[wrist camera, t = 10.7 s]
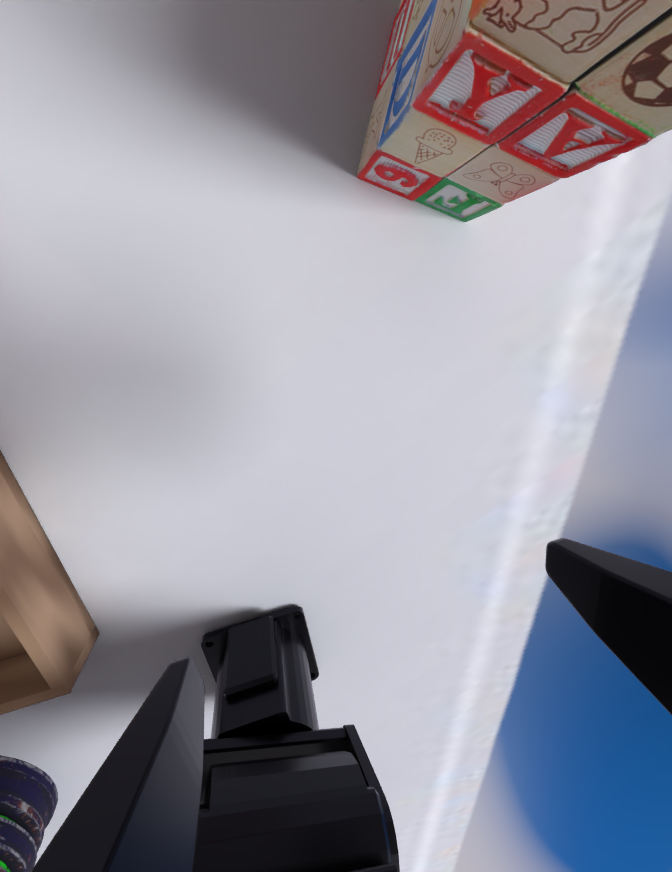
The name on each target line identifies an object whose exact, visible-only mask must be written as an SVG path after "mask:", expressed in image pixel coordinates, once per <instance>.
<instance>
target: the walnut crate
mask: <svg viewBox="0 0 672 872" xmlns="http://www.w3.org/2000/svg"><path fill="white" fill-rule="evenodd" d="M98 635H99V631H98V630H97V628H96V626H95V624H94V622H93V620H92V619H91V617H90V615H89V613H88V611H87V609H86V607H85V606H84V604H83V602H82V600H81V598H80V596H79V595H78V593H77V591H76V589H75V587H74V585H73V584H72V582H71V580H70V578H69V576H68V574H67V572H66V571H65V569H64V567H63V565H62V563H61V561H60V560H59V558H58V556H57V554H56V552H55V550H54V549H53V547H52V545H51V543H50V541H49V539H48V537H47V536H46V534H45V532H44V530H43V528H42V526H41V525H40V523H39V521H38V519H37V517H36V515H35V514H34V512H33V510H32V508H31V506H30V504H29V502H28V501H27V499H26V497H25V495H24V493H23V491H22V490H21V488H20V486H19V484H18V482H17V480H16V479H15V477H14V475H13V473H12V471H11V469H10V468H9V466H8V464H7V462H6V460H5V458H4V456H3V455H2V453H1V451H0V715H1V714H4V713H8V712H11V711H14V710H17V709H20V708H24V707H27V706H30V705H33V704H36V703H40V702H43V701H46V700H49V699H52V698H56V697H59V696H62V695H65V694H68V693H70V692H71V690H72V688H73V686H74V684H75V682H76V680H77V678H78V676H79V674H80V672H81V670H82V668H83V666H84V664H85V662H86V660H87V658H88V656H89V654H90V652H91V650H92V647H93V645H94V643H95V641H96V639H97V637H98Z"/></svg>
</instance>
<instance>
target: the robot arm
mask: <svg viewBox="0 0 672 872" xmlns="http://www.w3.org/2000/svg"><path fill="white" fill-rule="evenodd" d="M545 567H546V571H547V573H548V575H549V577H550V578H551V579H552V581H553V582H554V583H555V584H556V586H557V587H558V588H559V589H560V591H561V592H562V593H563V594H564V596H565V597H566V598H567V599H568V601H569V602H570V603H571V604H572V606H573V607H574V608H575V609H576V611H577V612H578V613H579V614H580V616H581V617H582V618H583V619H584V621H585V622H586V623H587V624H588V626H589V627H590V628H591V629H592V630H593V632H595V634H596V635H597V636H598V637H599V638H600V639H601V640H602V641H603V643H604V644H605V645H606V646H607V647H608V648H609V649H610V650H611V651H612V652H613V653H614V654H615V655H616V656H617V657H618V658H619V660H620V661H621V662H622V663H623V664H624V665H625V666H626V667H627V668H628V669H629V670H630V671H631V672H632V673H633V674H634V675H635V677H636V678H637V679H638V680H639V681H640V682H641V683H642V684H643V685H644V686H645V687H646V688H647V689H648V690H649V691H650V692H651V694H653V696H654V697H655V698H656V699H657V700H658V701H659V702H660V703H661V704H662V705H663V706H664V707H665V708H666V709H667V711H668V712H670V714H671V715H672V572H670V571H666V570H663V569H660V568H657V567H654V566H650V565H647V564H644V563H641V562H638V561H635V560H632V559H629V558H625V557H622V556H619V555H616V554H613V553H610V552H606V551H603V550H600V549H597V548H593V547H590V546H588V545H584V544H581V543H578V542H575V541H572V540H568V539H565V538H560V539H557V540H554V541H551V542H549V543H548V544H547V548H546V564H545ZM295 614H298V615H295ZM294 615H295V616H294ZM208 641H212V642H208ZM201 647H202V650H203V652H204V654H205V657H206V659H207V662H208V664H209V667H210V669H211V671H212V674H213V676H214V679H215V681H216V694H215V703H214V713H213V723H212V732H211V739H204V696H205V690H204V683H203V679H202V677H201V675H200V672H199V670H198V668H197V665H196V663H195V661H194V659H193V658H192V657H191V656H187V657H184V658H181V659H178V660H175V661H173V662H171V663H170V664H169V666H168V667H167V669H166V670H165V672H164V673H163V675H162V676H161V678H160V679H159V681H158V682H157V684H156V685H155V687H154V688H153V690H152V691H151V693H150V694H149V696H148V697H147V699H146V700H145V702H144V703H143V705H142V706H141V708H140V709H139V711H138V712H137V714H136V715H135V717H134V718H133V720H132V721H131V723H130V724H129V726H128V727H127V729H126V730H125V732H124V733H123V735H122V736H121V738H120V739H119V741H118V742H117V744H116V745H115V747H114V748H113V750H112V751H111V753H110V754H109V756H108V757H107V759H106V760H105V762H104V763H103V764H102V766H101V767H100V769H99V770H98V772H97V773H96V775H95V776H94V778H93V779H92V781H91V782H90V784H89V785H88V787H87V788H86V790H85V791H84V793H83V794H82V796H81V797H80V799H79V800H78V802H77V803H76V805H75V806H74V808H73V809H72V811H71V812H70V814H69V815H68V817H67V818H66V820H65V821H64V823H63V824H62V826H61V827H60V829H59V830H58V832H57V833H56V835H55V836H54V838H53V839H52V841H51V842H50V844H49V845H48V847H47V848H46V850H45V851H44V853H43V854H42V856H41V857H40V859H39V860H38V862H37V863H36V865H35V866H34V868H33V869H32V871H31V872H400V869H399V855H398V847H397V840H396V834H395V829H394V824H393V820H392V816H391V812H390V809H389V805H388V803H387V800H386V797H385V795H384V793H383V790H382V788H381V786H380V783H379V781H378V779H377V777H376V774H375V772H374V770H373V767H372V765H371V763H370V761H369V758H368V756H367V754H366V751H365V749H364V747H363V745H362V742H361V740H360V738H359V735H358V733H357V731H356V729H355V726H354V725H344V726H343V728H331V729H320V730H319V727H318V720H317V714H316V708H315V702H314V695H313V689H312V683H311V681H313V680H315V679H316V678H317V677H318V676H319V672H318V667H317V663H316V659H315V655H314V651H313V647H312V643H311V639H310V635H309V631H308V628H307V624H306V620H305V616H304V612H303V609H302V608H301V607H298V606H295V607H291V608H288V609H285V610H282V611H278V612H275V613H272V614H268V615H265V616H262V617H259V618H255V619H252V620H249V621H245V622H242V623H239V624H236V625H232V626H229V627H226V628H223V629H219V630H216V631H213V632H209V633H207V634H205V635H204V636H203V637H202V642H201Z"/></svg>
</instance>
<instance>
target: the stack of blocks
mask: <svg viewBox="0 0 672 872" xmlns="http://www.w3.org/2000/svg"><path fill="white" fill-rule="evenodd" d="M671 129H672V0H401V1H400V6H399V11H398V13H397V15H396V17H395V20H394V24H393V28H392V32H391V36H390V39H389V44H388V48H387V52H386V57H385V61H384V65H383V69H382V73H381V77H380V81H379V85H378V90H377V94H376V98H375V102H374V105H373V108H372V112H371V116H370V120H369V124H368V128H367V132H366V137H365V141H364V145H363V149H362V153H361V157H360V161H359V166H358V170H357V178H359V179H361V180H364V181H366V182H368V183H371V184H373V185H375V186H378V187H380V188H383V189H385V190H387V191H390V192H392V193H395V194H397V195H399V196H402V197H405V198H407V199H409V200H413V201H417V202H419V203H422V204H424V205H426V206H429V207H431V208H433V209H436V210H438V211H440V212H443V213H445V214H447V215H450V216H452V217H455V218H457V219H459V220H461V221H463V222H467V221H469V220H472V219H474V218H477V217H479V216H482V215H484V214H486V213H489V212H491V211H493V210H495V209H497V208H500V207H502V206H503V205H504V204H505V203H507V202H510V201H513V200H515V199H517V198H520V197H522V196H524V195H527V194H529V193H531V192H534V191H536V190H538V189H541V188H543V187H545V186H547V185H549V184H551V183H554V182H556V181H558V180H559V179H560V178H568V177H570V176H573V175H575V174H578V173H580V172H583V171H585V170H588V169H590V168H592V167H594V166H595V165H597V164H600V163H602V162H605V161H607V160H610V159H613V158H616V157H617V156H618V155H620V154H621V153H626V152H628V151H631V150H633V149H635V148H637V147H640V146H642V145H645V144H646V143H648V142H649V141H651V140H652V139H653V138H655V137H657V136H658V135H660V134H662V133H664V132H667V131H669V130H671Z"/></svg>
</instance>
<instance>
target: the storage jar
mask: <svg viewBox="0 0 672 872" xmlns="http://www.w3.org/2000/svg"><path fill="white" fill-rule="evenodd" d="M57 801H58V792H57V789H56V786H55V784H54V782H53V781H52V779H51V778H50V777H49V776H48V775H47V774H46V773H45V772H44V771H42V770H41V769H39V768H38V767H36V766H34V765H32V764H29V763H27V762H24V761H21V760H18V759H15V758H9V757H4V756H0V872H31V871H32V869H33V868H34V865H35V862H36V858H37V852H38V850H39V848H40V845H41V843H42V840H43V836H44V829H45V828H46V827H47V826H48V824H49V822H50V820H51V818H52V816H53V813H54V811H55V808H56V805H57Z"/></svg>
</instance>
